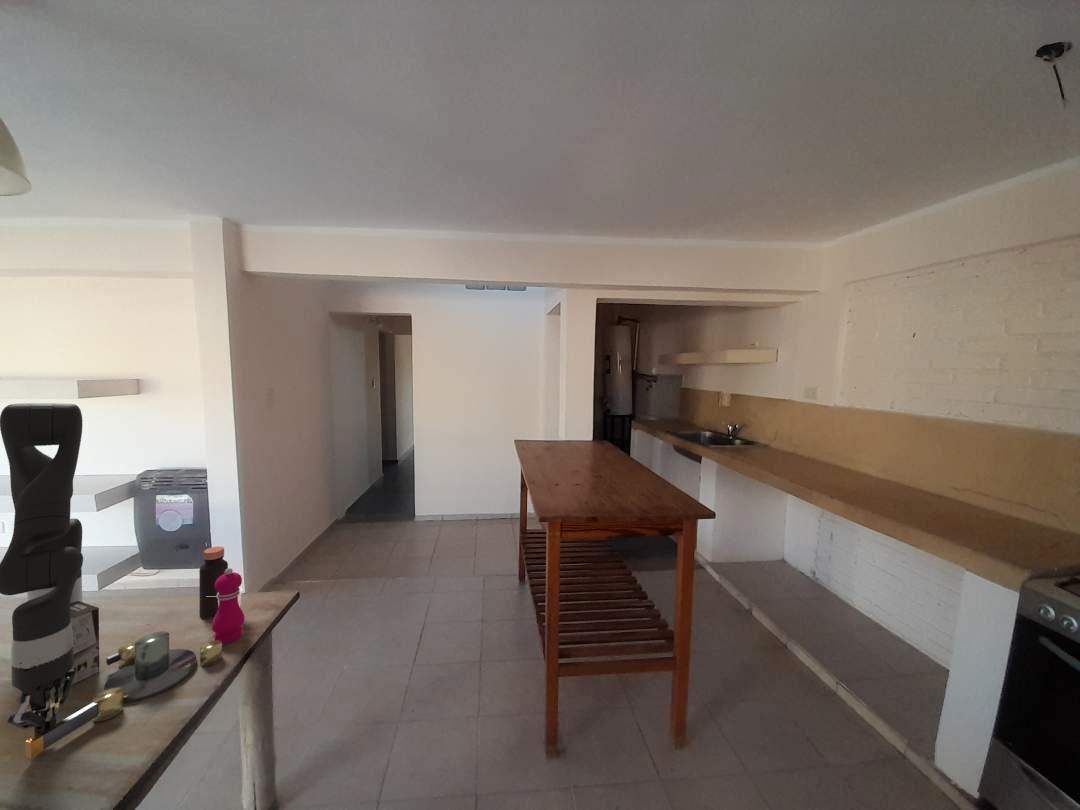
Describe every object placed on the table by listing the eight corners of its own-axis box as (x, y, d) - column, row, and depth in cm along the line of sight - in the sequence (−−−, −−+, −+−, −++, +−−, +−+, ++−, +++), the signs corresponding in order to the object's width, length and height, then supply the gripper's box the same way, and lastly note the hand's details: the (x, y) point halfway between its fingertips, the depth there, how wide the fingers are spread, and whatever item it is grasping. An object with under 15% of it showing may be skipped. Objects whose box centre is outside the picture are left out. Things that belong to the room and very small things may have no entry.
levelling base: (64, 696, 91) (63, 656, 90) (151, 643, 109) (151, 609, 109) (159, 708, 89) (158, 667, 88) (230, 652, 107) (230, 617, 107)
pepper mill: (226, 648, 109) (226, 576, 108) (204, 643, 110) (204, 572, 109) (250, 632, 116) (251, 564, 115) (230, 627, 117) (230, 561, 116)
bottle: (195, 621, 120) (195, 555, 119) (204, 609, 126) (204, 546, 125) (223, 616, 122) (224, 552, 121) (230, 605, 129) (230, 544, 127)
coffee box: (101, 671, 99) (100, 607, 98) (63, 689, 93) (62, 622, 92) (80, 661, 102) (78, 599, 101) (41, 678, 95) (40, 612, 95)
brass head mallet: (37, 765, 75) (36, 744, 74) (20, 760, 76) (19, 739, 75) (128, 707, 88) (128, 689, 88) (113, 702, 89) (113, 685, 89)
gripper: (44, 634, 83) (46, 713, 84) (-17, 681, 70) (-14, 773, 71) (92, 628, 85) (94, 705, 86) (42, 672, 73) (44, 761, 74)
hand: (45, 736), depth 79 cm, fingers closed
